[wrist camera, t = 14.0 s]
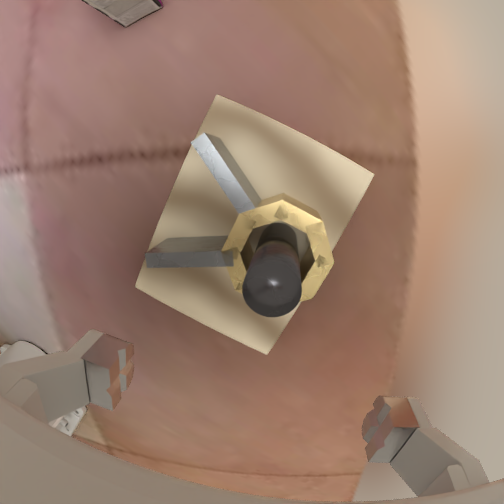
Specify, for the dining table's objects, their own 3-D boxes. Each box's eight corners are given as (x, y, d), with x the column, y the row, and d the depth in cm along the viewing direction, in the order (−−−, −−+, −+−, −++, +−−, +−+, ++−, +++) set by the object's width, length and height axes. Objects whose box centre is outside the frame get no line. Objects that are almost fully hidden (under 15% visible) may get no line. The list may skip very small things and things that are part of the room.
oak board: (268, 346, 32) (266, 354, 31) (140, 281, 32) (134, 286, 30) (370, 173, 26) (374, 174, 25) (220, 97, 26) (216, 94, 24)
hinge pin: (291, 262, 28) (292, 323, 17) (256, 253, 28) (236, 309, 17) (301, 227, 27) (309, 270, 16) (265, 218, 27) (249, 255, 16)
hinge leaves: (287, 310, 29) (286, 339, 24) (163, 247, 29) (140, 264, 24) (349, 204, 26) (362, 214, 21) (213, 134, 25) (196, 129, 21)
